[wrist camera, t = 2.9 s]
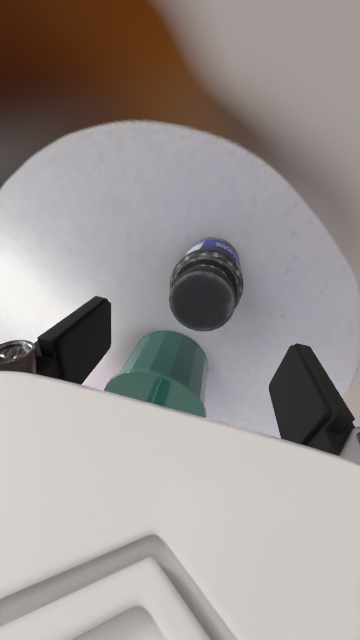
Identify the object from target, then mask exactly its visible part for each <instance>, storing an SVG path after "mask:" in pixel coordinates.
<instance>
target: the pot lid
mask: <svg viewBox="0 0 360 640" xmlns="http://www.w3.org/2000/svg"><path fill="white" fill-rule="evenodd" d="M104 391H107V392H111V393H114V394H118V395H122V396H126V397H130V398H133V399H137V400H141V401H145V402H148V403H152V404H156V405H160V406H163V407H167V408H171V409H175V410H178V411H182V412H186V413H189V414H193V415H197V416H200V417H204V418H206V410H205V407H204V404H203V402H202V400H201V398H200V397H199V396H198V394H197V393H196V392H195V391H194V390H193V389H192V388H191V387H190V386H189V385H188V384H186V383H185V382H183V381H182V380H180V379H178V378H176V377H175V376H172V375H170V374H168V373H165V372H162V371H158V370H153V369H145V368H137V369H129V370H125V371H123V372H120V373H118V374H116V375H115V376H114V377H112V378H111V379H110V381H109V382H108V383H107V385H106V387H105V389H104Z"/></svg>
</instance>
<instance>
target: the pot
mask: <svg viewBox="0 0 360 640" xmlns="http://www.w3.org/2000/svg"><path fill="white" fill-rule="evenodd" d="M137 368H145V369H153V370H158V371H162V372H165V373H168V374H170V375H172V376H175V377H176V378H178V379H180V380H182V381H183V382H185V383H186V384H188V385H189V386H190V387H191V388H192V389H193V390H194V391H195V392H196V393H197V394H198V396H199V397H200V398H201V400H202V402H203V404H204V400H205V391H206V382H207V373H208V367H207V359H206V356H205V354H204V352H203V350H202V349H201V348H200V346H199V345H198V344H197V343H196V342H194V341H193V340H192V339H190V338H188V337H187V336H185V335H182V334H180V333H176V332H172V331H158V332H154V333H151V334H148V335H146V336H145V337H143V338H142V339H141V340H140V341H139V343H138V344H137V346H136V347H135V349H134V350H133V352H132V354H131V355H130V357H129V358H128V360H127V361H126V363H125V365H124V366H123V368H122V369H121V371H120V372H123V371H125V370H129V369H137ZM120 372H119V373H120Z"/></svg>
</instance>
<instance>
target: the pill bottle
mask: <svg viewBox="0 0 360 640" xmlns="http://www.w3.org/2000/svg"><path fill="white" fill-rule="evenodd" d="M242 291H243V278H242V274H241V268H240V263H239V258H238V255H237V252H236V251H235V249H234V248H233V247H232V245H230V244H229V243H228V242H226V241H224V240H221V239H216V238H206V239H203V240H201V241H199V242H197V243H196V244H195V245H194V246H193V247H192V248H191V249H190V250H189V251H188V252H187V253H186V255H185V256H184V257H183V258H182V259H181V260H180V261H179V262H178V264H177V265H176V267H175V268H174V270H173V273H172V275H171V279H170V297H169V302H170V308H171V311H172V313H173V315H174V316H175V318H176V319H177V320H178V321H179V322H180V323H181V324H183V325H184V326H186V327H187V328H190V329H193V330H195V331H211V330H214V329H217V328H219V327H221V326H223V325H224V324H225V323H226V322H227V321H228V320H229V319H230V317H231V316H232V314H233V311H234V308H236V306H237V304H238V303H239V301H240V299H241V296H242Z"/></svg>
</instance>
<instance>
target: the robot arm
mask: <svg viewBox="0 0 360 640" xmlns="http://www.w3.org/2000/svg"><path fill="white" fill-rule="evenodd" d="M110 346H111V303H110V302H108V299H106V298H102V297H98V296H95V297H94V298H92V299H91V300H89V301H88V302H87V303H85V304H84V305H82V306H81V307H80V308H78V309H77V310H75V311H74V312H73V313H71V314H70V315H68V316H67V317H66V318H64V319H63V320H61V321H60V322H59V323H57V324H56V325H54V326H53V327H52V328H50V329H49V330H47V331H46V332H45V333H43V334H42V335H40V336H39V337H38V341H37V342H35V343H34V344H33V343H32V342H30V341H26V340H14V341H9V342H6V343H3V344H0V640H360V427H355V426H354V425H353V423H352V422H353V421H354V420H355V418H354V417H353V415H352V413H351V412H350V410H349V409H348V407H347V406H346V404H345V402H344V401H343V399H342V397H341V396H340V394H339V392H338V391H337V389H336V388H335V386H334V384H333V383H332V381H331V380H330V378H329V376H328V375H327V373H326V371H325V370H324V368H323V367H322V365H321V363H320V362H319V360H318V359H317V357H316V355H315V354H314V352H313V350H312V349H311V347H310V346H306V345H302V344H298V343H297V344H295V345H294V346H293V345H291V346H290V347H289V349H288V351H287V353H286V355H285V356H284V358H283V360H282V362H281V364H280V366H279V367H278V369H277V371H276V373H275V375H274V377H273V378H272V380H271V382H270V384H269V392H270V396H271V400H272V404H273V408H274V412H275V416H276V420H277V424H278V428H279V432H280V436H281V439H280V438H277V437H273V436H270V435H266V434H262V433H259V432H255V431H252V430H248V429H244V428H241V427H237V426H233V425H230V424H226V423H223V422H219V421H215V420H212V419H208V418H204V417H200V416H197V415H193V414H189V413H186V412H182V411H178V410H175V409H171V408H167V407H163V406H160V405H156V404H152V403H148V402H145V401H141V400H137V399H133V398H130V397H126V396H122V395H118V394H114V393H111V392H107V391H103V390H99V389H95V388H92V387H88V386H84V385H81V384H82V383H83V382H84V381H85V379H86V378H87V377H88V376H89V374H90V373H91V372H92V370H93V369H94V368H95V367H96V365H97V364H98V363H99V362H100V360H101V359H102V358H103V356H104V355H105V354H106V353H107V351H108V350H109V349H110Z"/></svg>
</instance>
